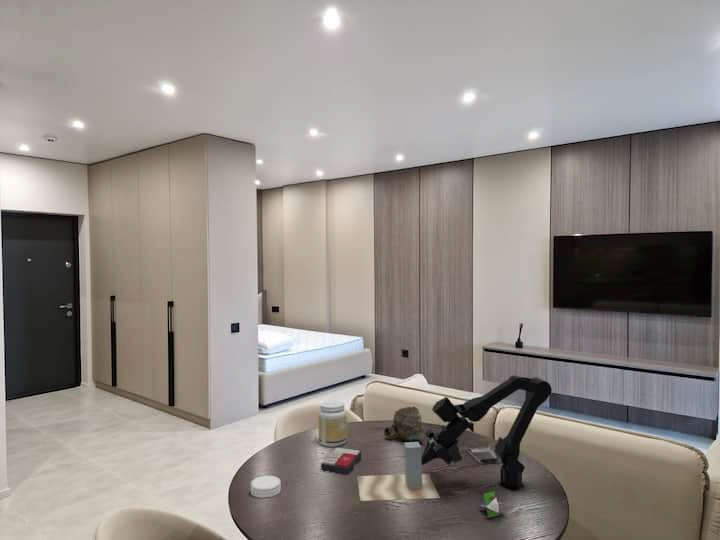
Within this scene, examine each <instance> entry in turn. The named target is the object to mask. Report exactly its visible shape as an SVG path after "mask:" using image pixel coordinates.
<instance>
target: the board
mask: <svg viewBox="0 0 720 540" xmlns="http://www.w3.org/2000/svg"><path fill="white" fill-rule="evenodd" d="M356 479H357V486H358V494H359V500H360V502H363V501H364V502H367V501H391V500H392V501H395V500H419V499H420V500H422V499H424V500H425V499H441V497H440V495H439V493H438V491H437V489H436V487H435V485H434V483H433V481H432V479H431V476H430V475H429V473H422V489H407V486H406V483H405V474H383V475H382V474H381V475H380V474H379V475H357V476H356Z"/></svg>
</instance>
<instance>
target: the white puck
mask: <svg viewBox="0 0 720 540" xmlns="http://www.w3.org/2000/svg"><path fill="white" fill-rule="evenodd" d="M281 484H282V483H281V479H280V478H279V477H277V476H274V475H262V476H258V477H256V478H254V479H253V480H252V481H251V482H250V493H251V496H253V497H254V498H258V499H259V498H260V499H267V497H268V498H272V497H275V496H277V495H278V494H279V493H280V492H281V488H282V487H281Z"/></svg>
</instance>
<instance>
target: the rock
mask: <svg viewBox="0 0 720 540" xmlns="http://www.w3.org/2000/svg"><path fill="white" fill-rule="evenodd" d="M392 419H393V421H392V424H391V426H388V427H385V428H384V430H383V435H384V437H385V438H386V439H387V440H395V439H399V438H402V439H403V440H406V441H408V442H409V441H410V442H412V441H417V440H418V441H419V439H421V438H422V437H423V433H425V427H424V425H423V421H422V416H421V414H420V411H419V408H417V407H416V406H407V407H402V408H399V409H398V410H395V411H394V414H393V418H392Z"/></svg>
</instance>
